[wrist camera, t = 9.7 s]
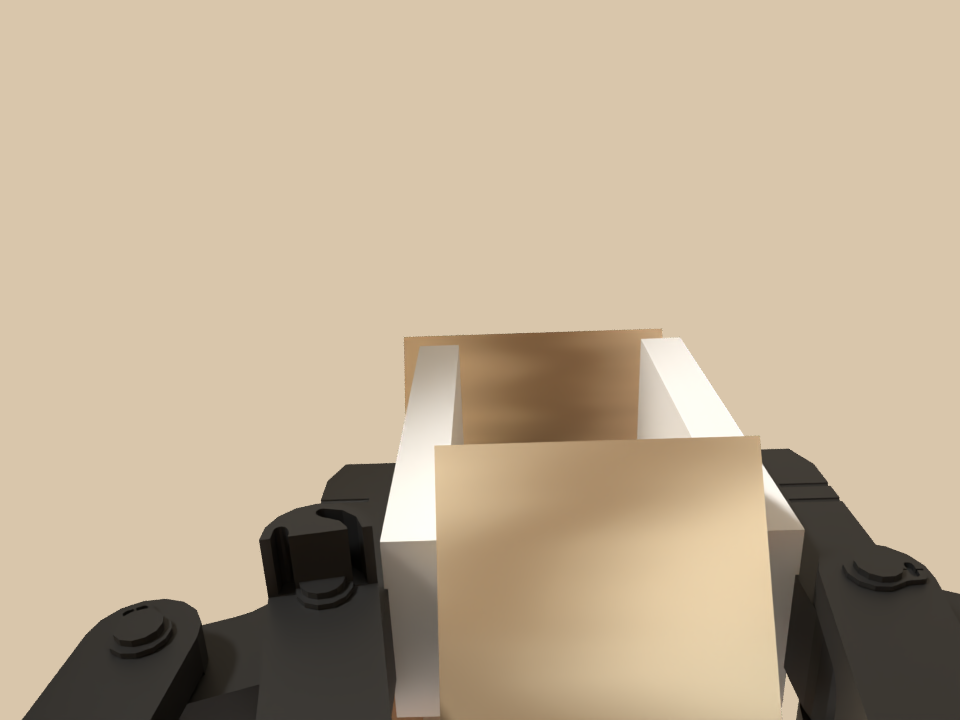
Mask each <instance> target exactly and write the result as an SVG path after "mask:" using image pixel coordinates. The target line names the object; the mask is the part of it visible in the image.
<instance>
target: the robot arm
mask: <svg viewBox="0 0 960 720" xmlns="http://www.w3.org/2000/svg"><path fill="white" fill-rule="evenodd" d="M732 436H744V435H743V434H742V432H741V430H740V429H739V428H738V426H737V424H736V423H735V421H734V420H733V418H732V417H731V415H730V413H729V412H728V410H727V409H726V407H725V406H724V404H723V403H722V401H721V400H720V398H719V397H718V395H717V393H716V392H715V391H714V389H713V387H712V386H711V385H710V383H709V381H708V380H707V378H706V377H705V375H704V373H703V372H702V370H701V369H700V367H699V366H698V364H697V363H696V361H695V359H694V358H693V356H692V355H691V354H690V352H689V350H688V349H687V347H686V346H685V344H684V343H683V341H682V340H681V338H653V339H641V349H640V375H639V401H638V427H637V439H666V438H699V437H732ZM437 445H464V439H463V419H462V399H461V379H460V359H459V345H442V346H420V348H419V353H418V357H417V362H416V367H415V372H414V377H413V382H412V387H411V392H410V397H409V402H408V406H407V411H406V416H405V421H404V426H403V431H402V436H401V441H400V446H399V451H398V456H397V460H396V463H383V464H349V465H345V466H344V467H343V468H342V469H341V470H340V471H338V472H337V473H336V474H335V475H334V476H333V477H332V478H331V479H330V480H328V482H327V485H326V487H325V490H324V493H323V496H322V499H321V504H314V505H310V506H305V507H301V508H296V509H294V510H292V511H290V512H288V513H285V514H283V515H281V516H279V517H277V518H276V519H275V520H274V521H273V522H271V523H270V524H269V525H268V526H267V527H265V529H264V531H263V533H262V535H261V537H260V539H259V543H260V549H261V555H262V561H263V567H264V574H265V580H266V586H267V592H268V598H269V599H268V604H267V605H265V606H263V607H261V608H259V609H257V610H255V611H253V612H250V613H247V614H244V615H241V616H237V617H234V618H230V619H226V620H222V621H218V622H214V623H210V624H206V625H202V623H201V620H200V618H199V615H198V612H197V610H196V609H194V608H193V607H191V606H190V605H188V604H187V603H185V602H182V601H175V600H169V599H160V600H151V601H143V602H140V603H137V604H134V605H130V606H128V607H125V608H122V609H120V610H118V611H116V612H115V613H113V614H111V615H109V616H108V617H106V618H104V619H102V620H101V621H100V622H99V623H98V624H97V625H96V626H94V627H93V629H91V631H89V632H88V633H87V634H86V635H85V637H84V638H83V639H82V641H81V642H80V643H79V645H78V646H77V647H76V649H75V650H74V651H73V653H72V654H71V655H70V657H69V658H68V659H67V661H66V662H65V663H64V665H63V666H62V667H61V669H60V670H59V671H58V673H57V674H56V675H55V677H54V678H53V679H52V681H51V682H50V683H49V684H48V686H47V687H46V689H45V690H44V691H43V693H42V694H41V695H40V696H39V698H38V700H37V701H36V702H35V703H34V705H33V706H32V707H31V709H30V710H29V711H28V712H27V714H26V715H25V716H24V718H23V719H22V720H392V710H393V703H394V695H395V703H396V713H397V717H436V716H440V690H439V643H438V597H437V550H436V503H435V457H434V446H437ZM761 457H762V470H763V483H764V495H765V508H766V521H767V533H768V546H769V559H770V572H771V584H772V597H773V610H774V622H775V635H776V648H777V661H778V673H779V686H780V699H781V707H782V701H783V693H784V686H785V678H786V673H787V675H788V677H789V679H790V682H791V684H792V686H793V688H794V690H795V692H796V694H797V696H798V698H799V704H798V711H797V718H796V720H960V594H958V593H953V592H949V591H944V590H942V589H941V587H940V586H939V584H938V582H937V580H936V579H935V577H934V576H933V575H932V574H931V572H930V571H929V570H928V569H927V568H926V567H925V566H924V565H923V564H921V563H920V562H918V561H916V560H915V559H913V558H912V557H910V556H908V555H907V554H904V553H901V552H899V551H896V550H893V549H891V548H888V547H885V546H880V545H876V544H875V543H874V542H873V540H872V539H871V538H870V537H869V535H868V534H867V533H866V531H865V530H864V529H863V527H862V526H861V525H860V524H859V522H858V521H857V520H856V518H855V517H854V516H853V515H852V513H851V512H850V511H849V509H848V508H847V507H846V506H845V504H844V503H843V502H842V501H840V500H839V496H838V495H837V494H836V492H835V491H834V490H833V489H832V487H831V486H828V482H827V481H826V479H825V478H824V477H823V475H822V474H821V473H820V472H819V471H818V469H817V468H816V467H815V465H814V464H813V463H811V462H809V461H808V460H806V459H805V458H803V457H801V456H800V455H798V454H796V453H794V452H793V451H792V450H790V449H767V450H761Z"/></svg>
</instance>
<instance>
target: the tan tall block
mask: <svg viewBox="0 0 960 720" xmlns="http://www.w3.org/2000/svg"><path fill="white" fill-rule="evenodd" d="M653 338H662V329H639V330H638V329H637V330H607V331H577V332H546V333H516V334H487V335H486V334H485V335H456V336H424V337H404V355H405V356H404V358H405V416H406V411H407V406H408V402H409V397H410V392H411V387H412V382H413V377H414V372H415V367H416V362H417V357H418V353H419V348H420V346H442V345H459V359H460V379H461V399H462V419H463V439H464V445H437V446H434V457H435V503H436V550H437V597H438V643H439V690H440V720H782V711H781V699H780V686H779V673H778V661H777V648H776V635H775V622H774V610H773V597H772V584H771V572H770V559H769V546H768V533H767V521H766V508H765V495H764V483H763V470H762V457H761V444H760V436H732V437H699V438H666V439H637V427H638V401H639V375H640V349H641V339H653Z"/></svg>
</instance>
